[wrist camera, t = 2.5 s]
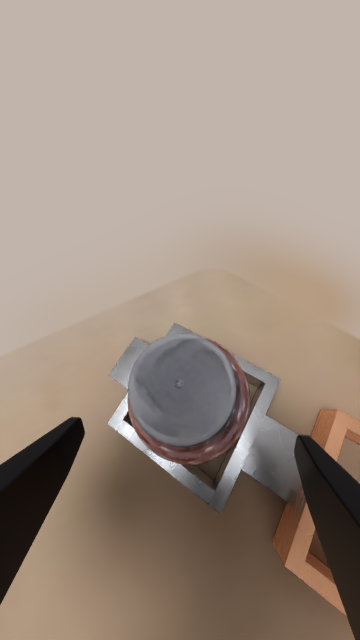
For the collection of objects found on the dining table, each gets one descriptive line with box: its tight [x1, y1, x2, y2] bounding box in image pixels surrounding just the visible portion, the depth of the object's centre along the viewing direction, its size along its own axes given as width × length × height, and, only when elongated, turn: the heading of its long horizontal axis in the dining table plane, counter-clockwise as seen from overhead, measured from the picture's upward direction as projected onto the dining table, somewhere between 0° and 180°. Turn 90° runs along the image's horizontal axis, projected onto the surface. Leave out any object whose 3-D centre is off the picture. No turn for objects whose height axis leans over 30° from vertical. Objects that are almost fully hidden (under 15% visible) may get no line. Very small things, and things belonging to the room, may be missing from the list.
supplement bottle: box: [127, 333, 250, 465], centre depth 13 cm, size 6×6×11 cm
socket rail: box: [108, 323, 360, 616], centre depth 15 cm, size 28×9×2 cm, turn 58°
